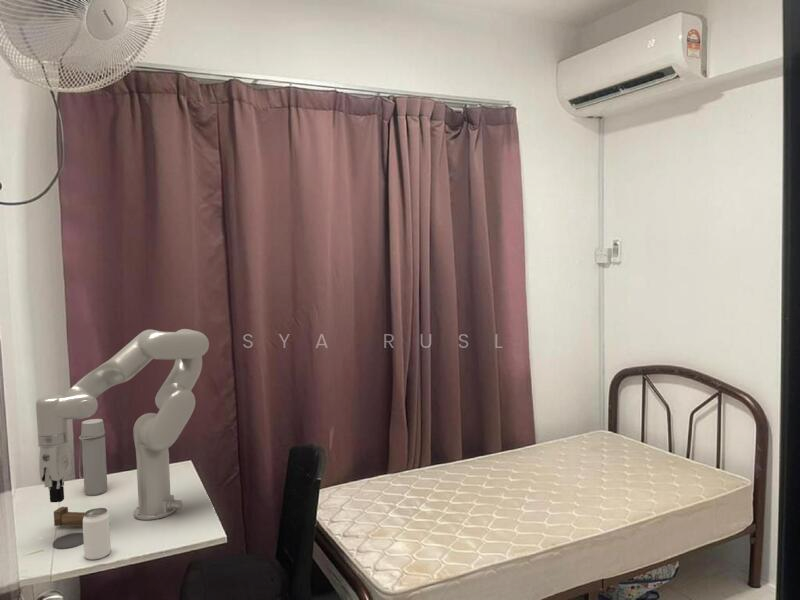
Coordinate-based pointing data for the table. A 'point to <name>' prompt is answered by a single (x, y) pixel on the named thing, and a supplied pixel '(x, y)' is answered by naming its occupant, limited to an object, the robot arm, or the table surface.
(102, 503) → the table surface
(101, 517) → the can
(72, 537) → the pad
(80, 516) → the bar
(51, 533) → the table surface
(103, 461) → the water bottle
